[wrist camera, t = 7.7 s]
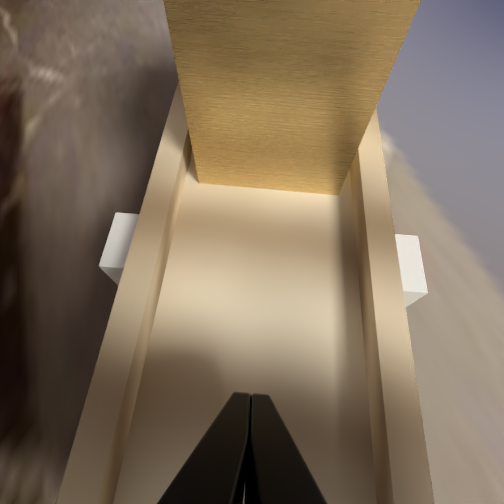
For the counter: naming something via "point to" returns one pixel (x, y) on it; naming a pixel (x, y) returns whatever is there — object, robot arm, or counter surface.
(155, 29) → the counter surface
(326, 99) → the block
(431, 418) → the counter surface
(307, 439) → the beam
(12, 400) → the counter surface
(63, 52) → the counter surface
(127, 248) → the fulcrum
